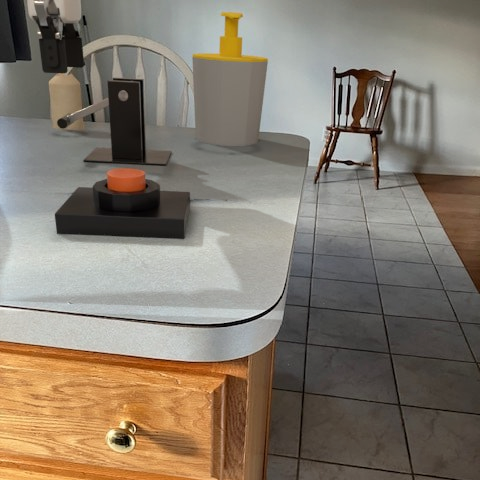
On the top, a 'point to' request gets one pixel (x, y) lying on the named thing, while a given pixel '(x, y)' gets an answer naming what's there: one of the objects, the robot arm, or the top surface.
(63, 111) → the candle
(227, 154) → the top surface
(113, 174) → the button
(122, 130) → the switch bracket
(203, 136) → the soap bottle
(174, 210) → the control block
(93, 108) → the switch lever
